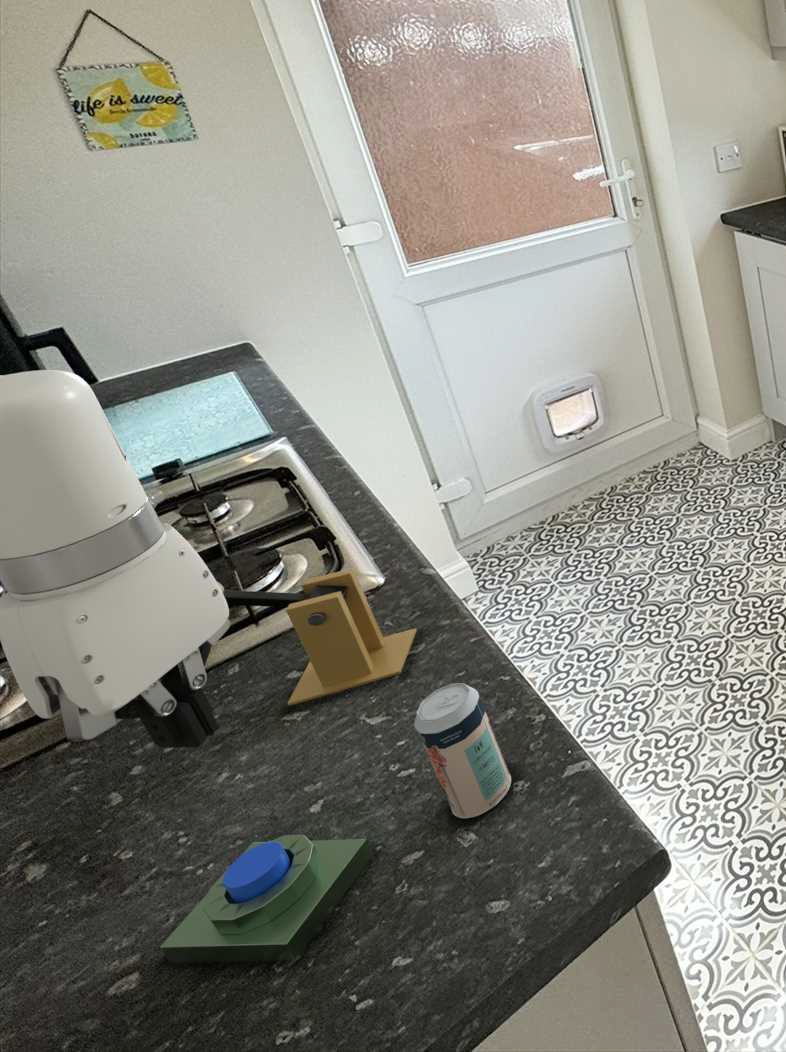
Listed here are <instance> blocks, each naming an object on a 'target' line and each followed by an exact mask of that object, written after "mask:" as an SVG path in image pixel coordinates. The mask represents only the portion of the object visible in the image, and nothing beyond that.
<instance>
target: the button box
mask: <svg viewBox="0 0 786 1052" xmlns="http://www.w3.org/2000/svg"><path fill="white" fill-rule="evenodd" d="M267 842H268V841H254V842H251V843H250V845H249V846H248V847H247V848H246V849H245V850H244V851H243V853H242V854H241V855H243V854H244V853H246V852H247V851H249V850H250V849H252V848H254V847H256V846H258V845H261V844H263V843H267ZM269 842H278V843H280V844H281V845H282V846H283V848H284V850H285V852H286V853H287V855H288V857H289V859H290V867H289V870H288V872H287V873H286V874H285V876H284V877H283V878H282V879H281V880H280V882H279V883H277V884H276V885H275V886H273V887H272V888H271V889H269V890H268V891H267V892H265V893H264V894H263V895H261V896H258V897H256V898H254V899H251V900H249V901H247V902H236V901H234V900H233V899H232V897H231V896H230V894H229V893H228V891H227V889H226V888H225V886H224V884H223V878H224V875H225V873H226V871H227V870H228V868H227V869H225V871H224V872H223V873H222V874H221V875H220V877H219V878H218V879H217V880H215V882H214V883H213V885H211V886H210V888H209V890H208V892H207V893H206V894H205V895H204V897H203V898H201V900H200V901H199V902H198V903H197V904H196V905H195V906H194V908H193V909H192V910H191V911H190V912H189V913H188V914H187V915H186V916H185V917H184V919H183V920H182V921H181V922H180V923H179V924H178V926H177V927H176V928H175V929H174V930H173V931H172V932H171V933H170V935H169V936H168V937H167V938H166V939H165V940H164V941H163V942H162V944H161V945H159V949H160V950H161V952H162V953H163V955H164V956H165V958H166V959H167V960H168V962H169V963H170V964H195V963H196V964H197V963H232V962H233V963H234V962H237V963H238V962H267V961H268V962H271V961H272V962H276V961H296V960H297V959H298V958H299V957H300V955H301V954H302V952H304V950H305V949H306V947H307V946H308V945H309V943H310V942H311V940H312V939H313V938H314V937H315V935H316V934H317V932H318V931H319V930H320V928H321V927H322V926H323V924H324V923H325V921H326V920H327V919H328V917H329V916H330V915H331V914H332V913H333V911H334V909H335V908H336V907H337V905H338V904H339V903H340V901H341V900H342V898H343V897H344V895H345V894H346V893H347V891H349V889H350V888H351V886H352V885H353V884H354V882H355V881H356V879H357V878H358V876H359V875H360V874H361V872H362V871H363V870H364V868H365V867H366V866H367V865H368V863H369V862H370V860H371V859H372V858H373V856H374V853H373V850H372V848H371V846H370V844H369V841H368V840H367V839H366V838H359V839H356V838H355V839H321V840H310V839H309V838H307V836H306V835H304V834H287V835H282V836H280V837H277V838H275V839H273V840H270V841H269Z"/></svg>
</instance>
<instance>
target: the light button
mask: <svg viewBox="0 0 786 1052" xmlns="http://www.w3.org/2000/svg"><path fill="white" fill-rule="evenodd" d="M266 842H267V843H263V844H261V845H258V846H256V847H254V848H252V849H250V850H249V851H247V852H246V853H244V852H243V853H244V854H243V853H242V854H243V855H242V854H241V855H240V856H239V857H238V858H236V860H234V861H233V862H232V863H231V864H230V866H229V867H227V869H228V870H227V869H226V870H227V871H226V870H225V871H226V873H225V875H224V878H223V884H224V886H225V888H226V889H227V891H228V893H229V894H230V896H231V897H232V899H233V900H234V901H236V902H247V901H249V900H251V899H254V898H256V897H258V896H261V895H263V894H264V893H265V892H267V891H268V890H269V889H271V888H272V887H273V886H275V885H276V884H277V883H279V882H280V880H281V879H282V878H283V877H284V876H285V874H286V873H287V872H288V870H289V867H290V859H289V857H288V855H287V853H286V852H285V850H284V848H283V846H282V845H281V844H280V843H278V842H270V841H266Z"/></svg>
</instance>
